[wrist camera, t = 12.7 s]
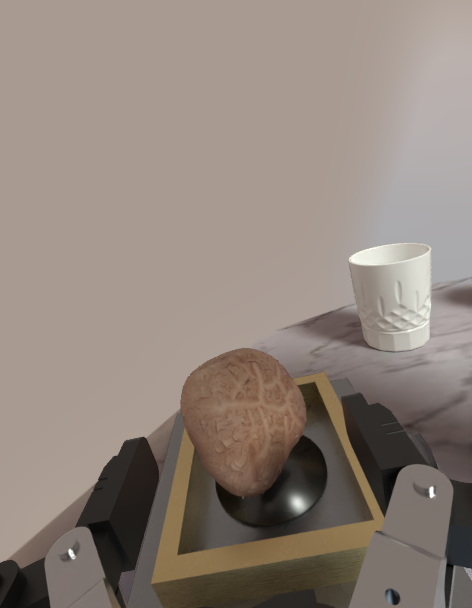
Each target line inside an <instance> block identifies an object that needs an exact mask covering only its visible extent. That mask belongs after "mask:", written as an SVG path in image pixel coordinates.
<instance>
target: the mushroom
mask: <svg viewBox="0 0 472 608" xmlns="http://www.w3.org/2000/svg"><path fill="white" fill-rule="evenodd" d="M181 413H182V418H183V422H184V425H185V428H186V431H187V434H188V436H189V438H190V440H191V442H192V444H193V445H194V447H195V449H196V450H197V452H198V453H199V455H200V458H201V460H202V463H203V465H204V467H205V469H206V470H207V471H208V473H210V475H211V476H212V477H213V478H214V479H215V480H216V482H218V483H219V485H220V486H222V487H223V488H224V489H225V490H227V491H229V492H230V493H231V494H234V495H235V496H236V495H237V496H241V497H242V499H244V497H248V498H249V499H250V497H252V496H257V495H259V494H264V492H265V491H266V490H267V489H269V488H270V487H271V486H272V484H273V483H274V482H275V481H276V479H277V477H278V475H279V474H280V473H281V470H282V468H283V466H284V465H285V462H286V460H287V458H288V456H289V454H290V452H291V450H292V448H293V447H294V446H295V445H296V444H297V442H298V441H299V439H300V437H301V436H303V431H304V429H305V423H306V421H307V418H306V407H305V402H304V398H303V396H302V393H301V391H300V389H299V388H298V386H297V384H296V383H295V382H294V380H293V379H292V378H291V377H290V376H289V374H288V373H287V371H286V369H285V368H284V367H283V365H281V364H280V363H279V362H278V360H276V359H274V358H273V357H272V356H270V355H268V354H266V353H264V352H262V351H259V350H255V349H249V348H242V349H236V350H233V351H230V352H226V353H224V354H221V355H219V356H217V357H215V358H213V359H211V360H209V361H207V362H205V363H204V364H202V365H201V366H199V367H198V368H197V369H196V370H194V371H193V372H192V373H191V374H190V376H189V377H188V378H187V380H186V382H185V384H184V386H183V390H182V396H181Z"/></svg>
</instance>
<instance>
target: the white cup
mask: <svg viewBox="0 0 472 608" xmlns="http://www.w3.org/2000/svg"><path fill="white" fill-rule="evenodd" d="M348 263H349V268H350V273H351V278H352V284H353V289H354V294H355V300H356V304H357V309H358V314H359V317H360V320H361V325H362V331H363V337H364V340H365V341H366V343H367V344H368V345H369V346H371V347H373V348H376V349H379V350H383V351H392V352H398V351H408V350H412V349H415V348H418V347H421V346H423V345H424V344H425V343H426V342H427V341H428V340H429V317H430V314H431V247H430V246H428V245H424V244H419V243H399V244H389V245H383V246H378V247H373V248H369V249H366V250H363V251H360V252H357V253H355V254H353V255H352V256H350V257H349V259H348Z"/></svg>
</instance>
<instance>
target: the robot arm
mask: <svg viewBox="0 0 472 608" xmlns="http://www.w3.org/2000/svg"><path fill="white" fill-rule="evenodd" d="M341 403H342V409H343V414H344V420H345V426H346V431H347V435H348V438H349V441H350V444H351V446H352V448H353V450H354V453H355V455H356V457H357V459H358V461H359V464H360V466H361V468H362V470H363V472H364V475H365V477H366V479H367V481H368V483H369V486H370V488H371V490H372V492H373V494H374V496H375V499H376V501H377V503H378V505H379V507H380V510H381V512H382V514H383V516H384V518H385V519H384V522H383V526H382V528H381V530H380V532H379V531H377V530H376V531H375V532H374V533H373V535H372V537H371V540H370V543H369V546H368V549H367V552H366V555H365V558H364V561H363V565H362V568H361V571H360V574H359V577H358V580H357V583H356V586H355V589H354V592H353V595H352V599H351V602H350V605H349V608H451V604H452V595H453V586H454V577H455V568H456V566H461V567H466V568H472V483H463V482H458V481H454V480H451V479H448V478H447V477H446V476H445V475H444V474H443V473H442V472H440V471H439V470H437V469H435V468H433V467H430V466H429V464H428V463H427V462H426V460H425V459H424V457H423V456H422V455H421V453H420V452H419V450H418V449H417V448H416V446H415V445H414V443H413V442H412V441H411V439H410V438H409V436H408V435H407V433H406V432H404V429H403V428H402V426H401V425H400V424H399V423H398V421H397V419H396V418H395V417H394V415H393V414H392V412H391V411H390V410H388V409H387V408H385V407H384V406H382V405H381V404H379V403H376V404H372V405H368V403H367V402H366V400H365V399H364V397H363V395H362V394H361V393H355V394H351V395H346V396H341ZM158 481H159V470H158V465H157V463H156V460H155V458H154V456H153V453H152V451H151V448H150V446H149V444H148V441H147V439H146V438H145V437H140V438H135V439H130V440H126V441H125V442H124V443H123V446H122V447H121V450H120V452H119V454H118V456H114V457H113V458H112V459H111V460H110V461H109V462H108V463H107V465H106V466H105V467H104V469H103V471H102V473H101V475H100V477H99V479H98V482H97V483H96V485H95V487H94V491H93V492H92V493H91V495H90V497H89V500H88V502H87V504H86V506H85V508H84V510H83V512H82V514H81V516H80V518H79V520H78V522H77V524H76V526H75V528H74V529H71V530H69V531H68V532H66V533H65V534H63V535H62V536H61V537H60V538H59V539H58V540H57V541H56V542H55V543H54V544H53V545H52V547H51V548H50V550H49V551H48V553H47V555H46V557H45V558H43V559H41V560H39V561H36V562H34V563H32V564H30V565H28V566H26V567H24V568H22V569H20V567H19V566H18V564H17V563H16V562H15V561H13V560H7V561H3V562H1V563H0V608H128V605H127V602H126V600H125V597H124V594H123V592H122V589H121V587H120V585H119V583H118V582H119V579H120V576H121V572H125V571H131V570H135V566H136V563H137V559H138V555H139V551H140V548H141V544H142V540H143V537H144V533H145V529H146V526H147V522H148V518H149V514H150V511H151V507H152V503H153V500H154V496H155V492H156V489H157V485H158ZM198 608H212V607H206V606H204V607H198ZM252 608H336V607H334V606H330V605H327V604H323V603H318V602H317V599H316V595H315V591H314V589H310V590H303V591H297V592H291V593H285V594H279V595H276V596H274V597H272V598H270V599H268V600H266V601H264V602H262V603H260V604H258V605H256V606H254V607H252Z"/></svg>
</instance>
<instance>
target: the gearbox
mask: <svg viewBox="0 0 472 608" xmlns="http://www.w3.org/2000/svg"><path fill="white" fill-rule="evenodd" d="M293 380H294V382H295V383H296V384H297V386H298V388H299V389H300V391H301V393H302V396H303V398H304V402H305V407H306V418H307V421H306V423H305V429H304V431H303V436H301V437H300V439H299V441H298V442H297V444H296V445H295V446H294V447H293V448H292V450H291V452H290V454H289V456H288V458H287V460H286V462H285V465H284V466H283V468H282V470H281V473H280V474H279V475H278V477H277V479H276V481H275V482H274V483H273V484H272V486H271V487H270V488H269V489H267V490H266V491H265V492H264V494H259V495H257V496H252V497H250V499H249V498H248V497H244V499H242V497H241V496H237V495H236V496H235V495H234V494H231V493H230V492H229V491H227V490H225V489H224V488H223V487H222V486H220V485H219V483H218V482H216V480H215V479H214V478H213V477H212V476H211V475H210V473H208V471H207V470H206V469H205V467H204V465H203V463H202V460H201V458H200V455H199V453H198V452H197V450H196V449H195V447H194V445H193V444H192V442H191V440H190V438H189V436H188V434H187V431H186V428H185V425H184V422H183V418H182V413H180V414H177V416H176V420H175V424H174V428H173V431H172V435H171V439H170V443H169V447H168V451H167V454H166V458H165V462H164V466H163V470H162V474H161V477H160V481H159V485H158V489H157V493H156V497H155V500H154V504H153V508H152V512H151V516H150V520H149V523H148V527H147V531H146V535H145V539H144V543H143V546H142V550H141V554H140V558H139V562H138V566H137V569H136V573H135V577H134V581H133V585H132V589H131V592H130V596H129V600H128V604H127V605H128V608H198V607H204V606H206V607H212V608H252V607H254V606H256V605H258V604H260V603H262V602H264V601H266V600H268V599H270V598H272V597H274V596H276V595H279V594H285V593H291V592H297V591H303V590H310V589H314V591H315V595H316V599H317V602H318V603H323V604H327V605H330V606H334V607H336V608H349V605H350V602H351V599H352V595H353V592H354V589H355V586H356V583H357V580H358V577H359V574H360V571H361V568H362V565H363V561H364V558H365V555H366V552H367V549H368V546H369V543H370V540H371V537H372V535H373V533H374V532H375V531H376V530H377V531H379V532H380V530H381V528H382V526H383V522H384V519H385V518H384V516H383V514H382V512H381V510H380V507H379V505H378V503H377V501H376V499H375V496H374V494H373V492H372V490H371V488H370V486H369V483H368V481H367V479H366V477H365V475H364V472H363V470H362V468H361V466H360V464H359V461H358V459H357V457H356V455H355V453H354V450H353V448H352V446H351V444H350V441H349V438H348V435H347V431H346V426H345V420H344V414H343V409H342V403H341V396H346V395H351V394H355V393H356V392H355V390H354V388H353V387H352V385H351V383H350V382H349V380H348V379H347V378H344V379H339V380H334V381H330V382H329V380H328V378H327V376H326V374H325V372H322V373H317V374H313V375H308V376H303V377H299V378H294V379H293ZM407 435H408V436H409V438H410V439H411V441H412V442H413V443H414V445H415V446H416V448H417V449H418V450H419V452H420V453H421V455H422V456H423V457H424V459H425V460H426V462H427V463H428V464H429V466H430V467H433V468H435V469H437V470H438V468H437V465H436V462H435V459H434V456H433V454H432V452H431V450H430V448H429V446H428V444H427V443H426V441H425V440H424V438H423V437H422V436H421V435H420V434H419V433H418V432H416V431H414V432H409V433H407ZM451 608H472V581H471V579H470V578H469V576H468V574H467V573H466V571H465V569H464V568H463V567H461V566H456V568H455V577H454V586H453V595H452V604H451Z"/></svg>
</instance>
